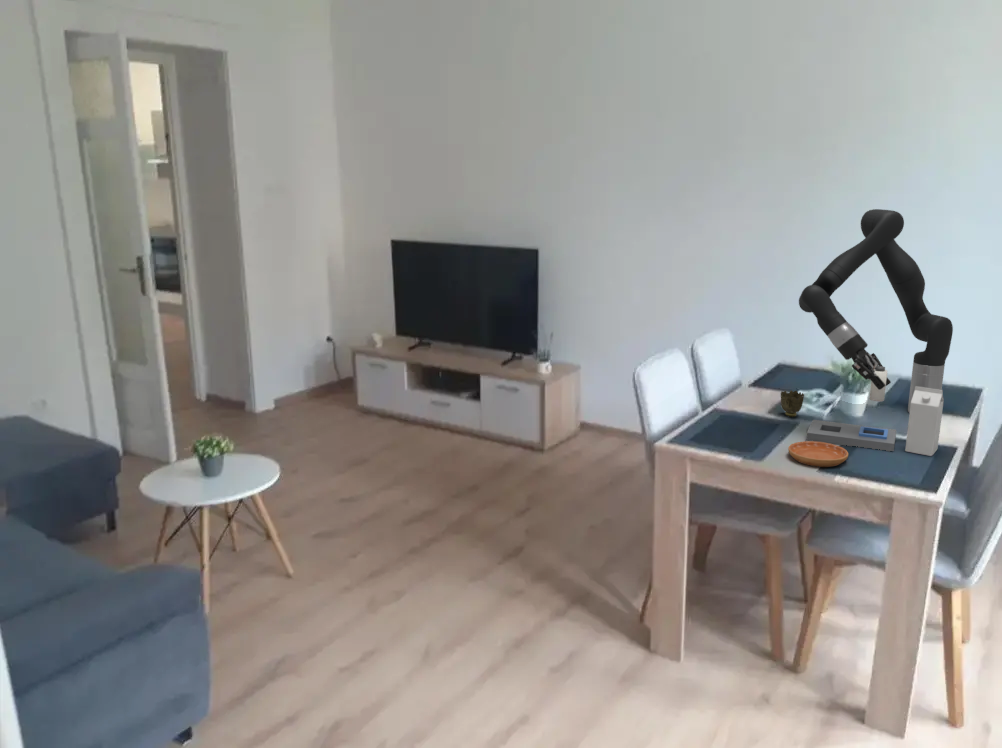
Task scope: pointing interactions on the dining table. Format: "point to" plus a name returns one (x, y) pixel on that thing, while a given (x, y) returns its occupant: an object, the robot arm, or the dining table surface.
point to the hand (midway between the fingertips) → (885, 386)
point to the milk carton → (924, 421)
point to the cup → (791, 402)
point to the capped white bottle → (874, 391)
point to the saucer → (818, 453)
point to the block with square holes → (851, 435)
